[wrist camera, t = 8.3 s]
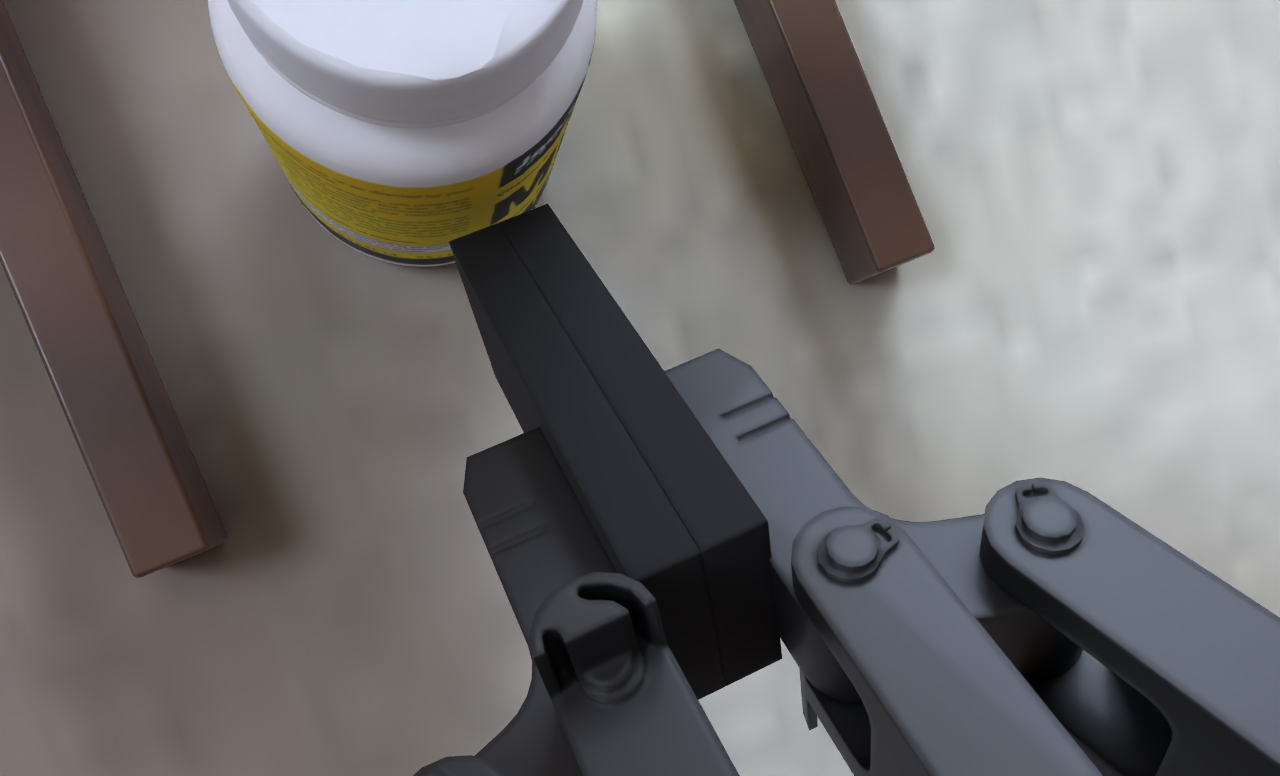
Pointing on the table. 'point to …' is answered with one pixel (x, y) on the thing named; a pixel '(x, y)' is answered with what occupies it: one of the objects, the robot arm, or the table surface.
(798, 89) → the bay
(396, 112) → the supplement bottle
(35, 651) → the table surface
